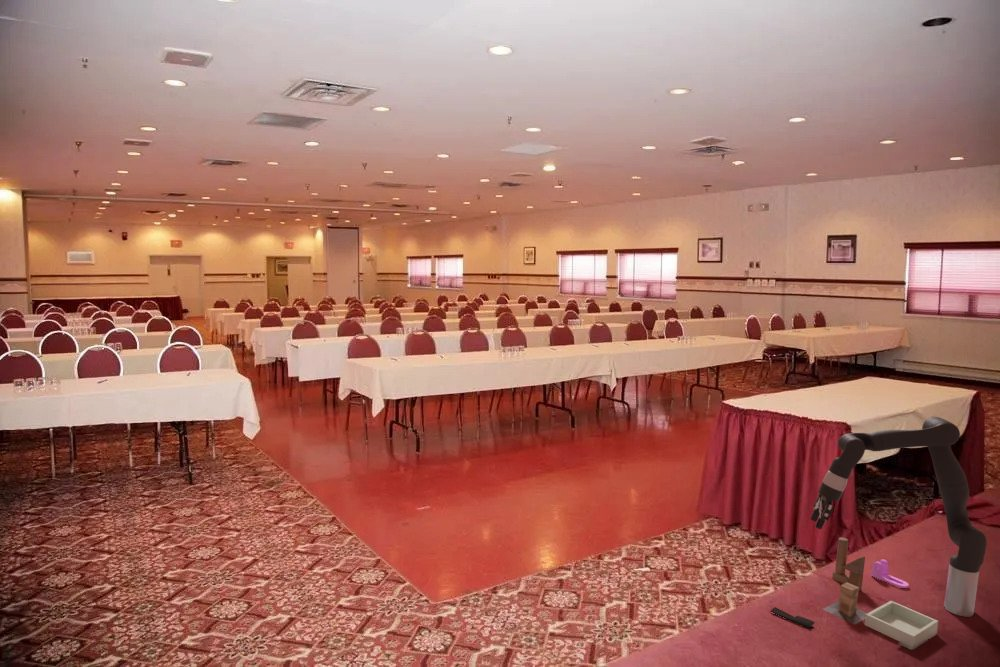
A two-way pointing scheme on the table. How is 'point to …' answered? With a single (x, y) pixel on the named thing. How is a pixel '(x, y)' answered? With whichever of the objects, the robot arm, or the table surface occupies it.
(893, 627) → the tray
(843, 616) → the stud plate
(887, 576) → the bracket
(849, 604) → the strut
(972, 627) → the table surface
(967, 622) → the table surface
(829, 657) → the table surface
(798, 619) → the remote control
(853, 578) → the brown wooden angled stand
